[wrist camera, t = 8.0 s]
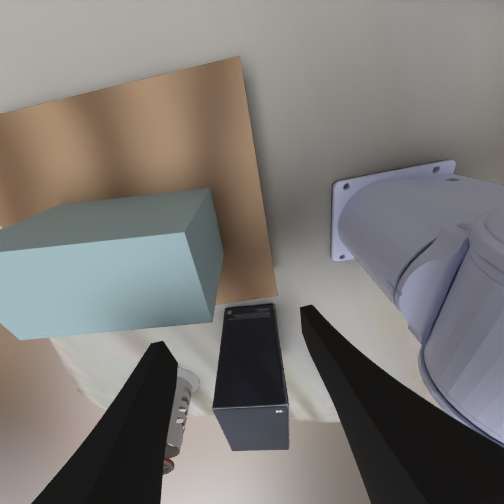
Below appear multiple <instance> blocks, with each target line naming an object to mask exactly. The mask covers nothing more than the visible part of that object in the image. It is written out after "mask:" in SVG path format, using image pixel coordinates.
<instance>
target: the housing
mask: <svg viewBox="0 0 504 504" xmlns="http://www.w3.org/2000/svg"><path fill="white" fill-rule="evenodd" d="M223 256H224V251H223V246H222V241H221V236H220V232H219V227H218V222H217V217H216V213H215V208H214V203H213V198H212V193H211V189H210V188H202V189H193V190H185V191H176V192H167V193H158V194H150V195H141V196H132V197H123V198H115V199H106V200H97V201H88V202H80V203H71V204H62V205H58V206H56V207H53V208H51V209H49V210H46V211H44V212H41V213H39V214H37V215H34V216H32V217H30V218H27V219H25V220H22V221H20V222H18V223H15V224H13V225H11V226H8V227H6V228H3V229H1V230H0V323H1V324H2V325H3V326H4V327H6V328H7V329H8V330H9V331H10V332H11V333H12V334H14V335H15V336H16V337H17V338H18V339H19V340H26V339H37V338H48V337H59V336H70V335H80V334H91V333H102V332H113V331H123V330H134V329H145V328H155V327H166V326H177V325H188V324H198V323H209V322H212V321H213V315H214V309H215V303H216V297H217V292H218V286H219V280H220V274H221V268H222V262H223Z"/></svg>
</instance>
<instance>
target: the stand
mask: <svg viewBox="0 0 504 504" xmlns="http://www.w3.org/2000/svg"><path fill="white" fill-rule="evenodd" d="M202 188H210V189H211V193H212V198H213V203H214V208H215V213H216V217H217V222H218V227H219V232H220V236H221V241H222V246H223V251H224V256H223V262H222V268H221V274H220V280H219V286H218V292H217V297H216V303H215V305H220V304H226V303H233V302H239V301H245V300H252V299H258V298H265V297H271V296H278V294H277V287H276V281H275V275H274V268H273V262H272V256H271V249H270V243H269V237H268V231H267V224H266V218H265V212H264V205H263V199H262V193H261V186H260V180H259V174H258V168H257V161H256V155H255V149H254V142H253V136H252V130H251V123H250V117H249V111H248V105H247V98H246V92H245V86H244V79H243V73H242V67H241V60H240V56H237V57H233V58H229V59H225V60H221V61H217V62H213V63H208V64H204V65H200V66H196V67H192V68H188V69H184V70H180V71H175V72H171V73H167V74H163V75H159V76H155V77H151V78H147V79H143V80H138V81H134V82H130V83H126V84H122V85H118V86H114V87H110V88H105V89H101V90H97V91H93V92H89V93H85V94H81V95H77V96H72V97H68V98H64V99H60V100H56V101H52V102H48V103H44V104H39V105H35V106H31V107H27V108H23V109H19V110H15V111H11V112H6V113H2V114H0V225H1V226H2V227H3V228H6V227H8V226H11V225H13V224H15V223H18V222H20V221H22V220H25V219H27V218H30V217H32V216H34V215H37V214H39V213H41V212H44V211H46V210H49V209H51V208H53V207H56V206H58V205H62V204H71V203H80V202H88V201H97V200H106V199H115V198H123V197H132V196H141V195H150V194H158V193H167V192H176V191H185V190H193V189H202Z"/></svg>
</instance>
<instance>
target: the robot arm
mask: <svg viewBox="0 0 504 504" xmlns="http://www.w3.org/2000/svg"><path fill="white" fill-rule="evenodd" d="M455 166H456V162H455V161H453V160H445V161H440V162H435V163H429V164H424V165H419V166H414V167H408V168H403V169H398V170H393V171H387V172H382V173H377V174H372V175H366V176H361V177H356V178H351V179H345V180H340V181H337V182H336V183H334V185H333V193H332V232H331V259H332V260H333V261H334V262H338V261H344V260H350V259H356V260H357V261H358V263H359V264H360V265H361V266H362V267H363V269H364V270H365V271H366V272H367V273H368V275H369V276H370V277H371V278H372V279H373V281H374V282H375V283H376V284H377V285H378V287H379V288H380V289H381V290H382V291H383V293H384V294H385V295H386V296H387V297H388V299H389V300H390V301H391V302H392V304H393V305H394V306H395V307H396V308H397V309H398V310H399V312H400V313H401V314H402V316H403V317H404V318H405V319H406V320H407V321H408V329H409V330H410V331H411V332H412V333H413V335H414V336H415V337H416V338H417V340H418V341H419V342H420V343H421V344H422V346H421V348H420V350H419V354H418V366H419V370H420V375H421V377H422V379H423V382H424V384H425V386H426V387H427V389H428V391H429V392H430V394H431V395H432V397H433V398H434V399H435V401H436V402H437V403H438V405H439V406H440V407H441V408H442V409H443V410H444V411H445V412H446V413H445V412H444V411H442V410H440V409H439V408H437V407H436V406H434V405H433V404H431V403H430V402H428V401H427V400H425V399H424V398H422V397H421V396H419V395H418V394H416V393H415V392H413V391H412V390H410V389H409V388H407V387H406V386H404V385H403V384H401V383H400V382H399V381H397V380H396V379H395V378H393V377H392V376H391V375H389V374H388V373H386V372H385V371H384V370H383V369H381V368H380V367H379V366H377V365H376V364H375V363H374V362H372V361H371V360H370V359H369V358H367V357H366V356H365V355H364V354H363V353H361V352H360V351H359V350H358V349H357V348H356V347H354V346H353V345H352V344H351V343H350V342H349V341H348V340H347V339H345V338H344V337H343V336H342V335H341V334H340V333H339V332H338V331H337V330H336V329H335V328H334V327H333V326H332V325H331V324H330V323H329V322H328V321H327V320H326V319H325V318H324V317H323V316H322V315H321V314H320V313H319V312H318V310H317V309H316V308H315V307H314V306H313V305H308V306H304V307H300V314H301V326H302V334H303V336H304V339H305V342H306V345H307V348H308V350H309V353H310V355H311V357H312V359H313V361H314V363H315V365H316V367H317V370H318V372H319V374H320V376H321V378H322V380H323V382H324V384H325V386H326V388H327V390H328V393H329V395H330V397H331V399H332V401H333V403H334V406H335V408H336V411H337V413H338V416H339V418H340V421H341V423H342V426H343V429H344V431H345V434H346V436H347V439H348V442H349V444H350V447H351V450H352V452H353V455H354V458H355V460H356V463H357V466H358V469H359V471H360V474H361V477H362V479H363V482H364V485H365V487H366V490H367V493H368V496H369V499H370V502H371V504H504V185H500V184H495V183H491V182H487V181H482V180H478V179H473V178H469V177H465V176H460V175H456V174H453V173H454V169H455ZM435 167H436V169H435V170H434V171H433V169H434V168H435ZM345 184H348V186H347V187H346V188H345V189H343V186H344V185H345ZM341 255H343V256H342V257H340V256H341ZM177 370H178V362H177V361H176V360H175V358H174V357H173V355H172V354H171V352H170V351H169V349H168V348H167V346H166V345H165V343H164V342H163V341H160V342H155V343H151V345H150V346H149V348H148V349H147V351H146V352H145V354H144V355H143V357H142V358H141V360H140V361H139V363H138V365H137V366H136V368H135V369H134V371H133V372H132V374H131V375H130V377H129V379H128V380H127V382H126V383H125V385H124V386H123V388H122V389H121V391H120V392H119V394H118V395H117V397H116V398H115V399H114V401H113V402H112V404H111V405H110V407H109V408H108V409H107V411H106V412H105V414H104V415H103V417H102V418H101V419H100V421H99V422H98V423H97V425H96V426H95V428H94V429H93V430H92V432H91V433H90V434H89V435H88V437H87V438H86V439H85V441H84V442H83V443H82V444H81V446H80V447H79V448H78V449H77V451H76V452H75V453H74V454H73V456H72V457H71V458H70V459H69V460H68V462H67V463H66V464H65V465H64V466H63V467H62V469H61V470H60V471H59V472H58V473H57V475H56V476H55V477H54V478H53V480H51V482H50V483H49V484H48V485H47V486H46V487H45V489H44V490H43V491H42V492H41V493H40V494H39V496H38V497H37V498H36V499H35V500H34V501H33V502H32V503H31V504H160V501H161V488H162V476H163V466H164V456H165V448H166V441H167V435H168V430H169V424H170V419H171V413H172V408H173V402H174V397H175V391H176V385H177Z"/></svg>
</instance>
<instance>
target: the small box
mask: <svg viewBox="0 0 504 504" xmlns="http://www.w3.org/2000/svg"><path fill="white" fill-rule="evenodd" d="M212 410H213V412H214V414H215V416H216V418H217V420H218V422H219V424H220V426H221V428H222V430H223V432H224V434H225V436H226V439H227V441H228V443H229V445H230V447H231V449H232V451H245V450H246V451H247V450H288V449H289V403H288V395H287V388H286V382H285V375H284V368H283V362H282V355H281V348H280V342H279V335H278V328H277V319H276V311H275V305H263V306H252V307H238V308H229V309H225V314H224V322H223V330H222V338H221V346H220V354H219V362H218V370H217V377H216V385H215V393H214V401H213V407H212Z"/></svg>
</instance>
